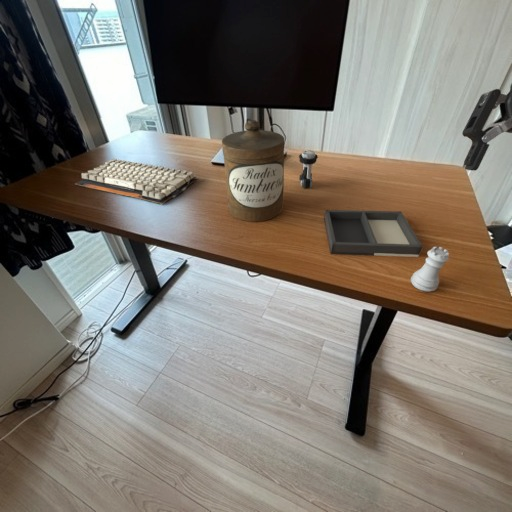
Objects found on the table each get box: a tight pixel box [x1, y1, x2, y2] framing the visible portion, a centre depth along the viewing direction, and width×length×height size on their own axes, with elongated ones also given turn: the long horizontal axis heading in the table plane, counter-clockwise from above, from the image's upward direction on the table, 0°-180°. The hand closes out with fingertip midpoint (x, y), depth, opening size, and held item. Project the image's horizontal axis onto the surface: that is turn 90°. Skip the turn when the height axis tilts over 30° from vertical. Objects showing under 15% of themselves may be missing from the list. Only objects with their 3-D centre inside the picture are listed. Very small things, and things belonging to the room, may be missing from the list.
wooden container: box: [221, 119, 285, 222], centre depth 67 cm, size 15×15×22 cm
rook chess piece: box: [410, 246, 450, 293], centre depth 48 cm, size 4×4×8 cm
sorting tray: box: [323, 209, 424, 258], centre depth 61 cm, size 18×14×3 cm
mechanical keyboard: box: [73, 158, 197, 205], centre depth 88 cm, size 38×19×3 cm, turn 66°
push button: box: [298, 150, 319, 190], centre depth 81 cm, size 7×5×10 cm
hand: (499, 176), depth 41 cm, fingers open, 8 cm apart
